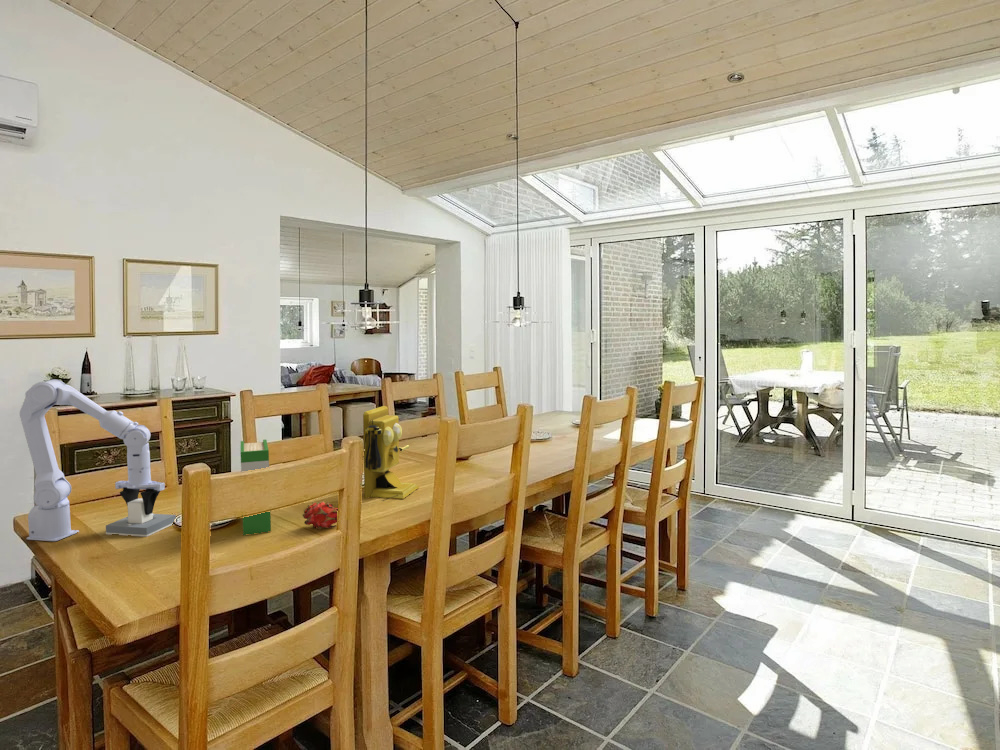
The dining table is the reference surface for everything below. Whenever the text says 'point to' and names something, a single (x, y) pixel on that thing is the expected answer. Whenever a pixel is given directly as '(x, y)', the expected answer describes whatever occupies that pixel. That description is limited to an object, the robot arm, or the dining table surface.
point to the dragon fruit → (321, 515)
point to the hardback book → (251, 460)
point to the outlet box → (140, 526)
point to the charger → (137, 512)
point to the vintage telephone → (383, 455)
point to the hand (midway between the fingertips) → (141, 513)
